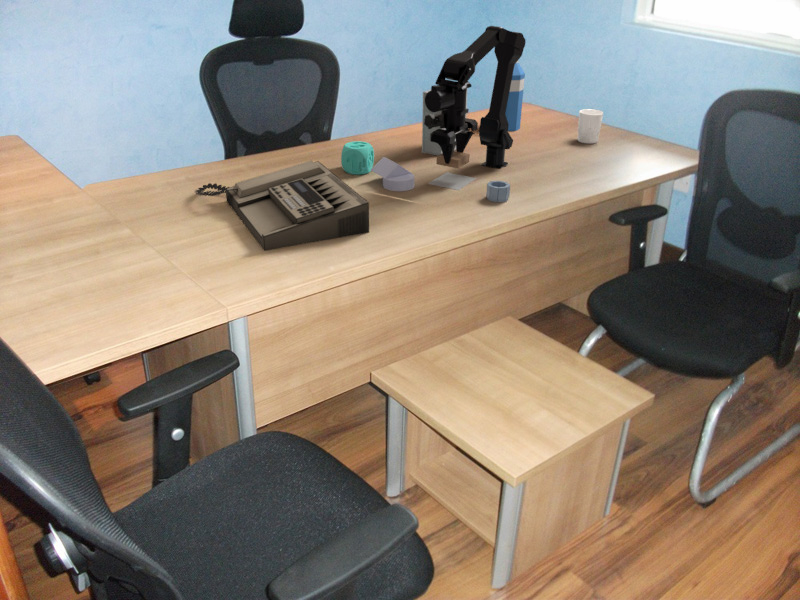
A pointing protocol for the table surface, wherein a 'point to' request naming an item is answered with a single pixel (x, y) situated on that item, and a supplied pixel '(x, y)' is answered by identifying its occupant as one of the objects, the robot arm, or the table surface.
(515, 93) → the water bottle
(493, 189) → the grey ring collar
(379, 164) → the wedge on round base
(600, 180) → the table surface
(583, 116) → the white cup
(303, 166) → the fax machine
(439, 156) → the block
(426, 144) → the hard drive box
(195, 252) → the table surface
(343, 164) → the decorative dice
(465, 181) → the mat
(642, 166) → the table surface
